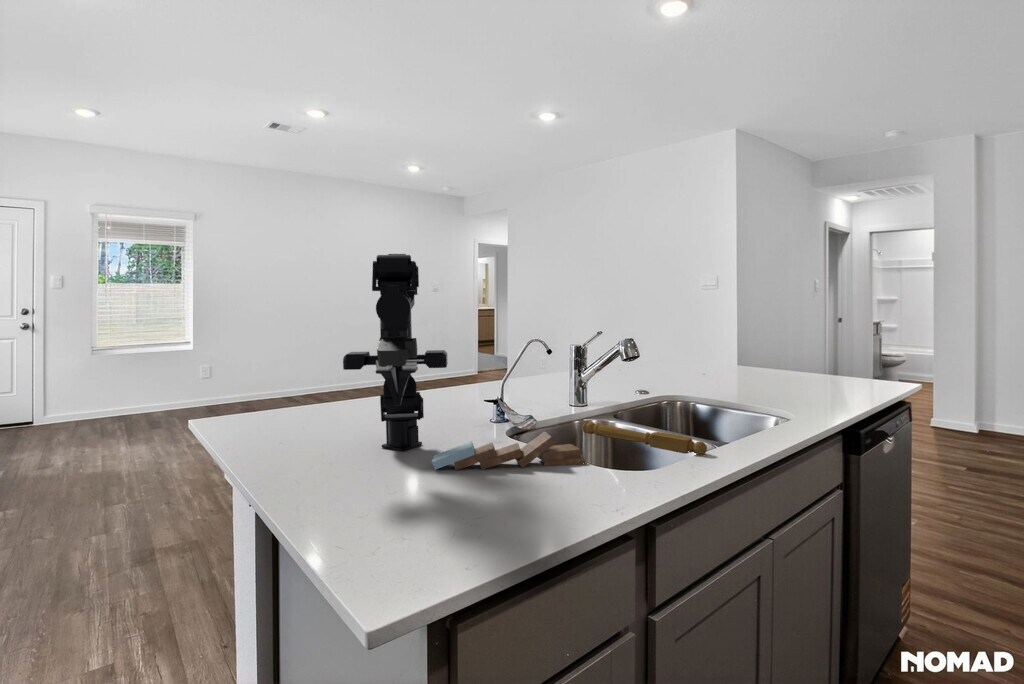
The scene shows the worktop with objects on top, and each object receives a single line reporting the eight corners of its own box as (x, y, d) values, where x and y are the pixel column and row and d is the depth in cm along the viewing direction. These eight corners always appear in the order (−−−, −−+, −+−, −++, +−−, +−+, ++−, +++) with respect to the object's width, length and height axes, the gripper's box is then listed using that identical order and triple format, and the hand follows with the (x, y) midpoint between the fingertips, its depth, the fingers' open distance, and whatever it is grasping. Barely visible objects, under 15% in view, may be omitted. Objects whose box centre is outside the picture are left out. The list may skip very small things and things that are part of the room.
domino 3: (479, 462, 106) (519, 448, 107) (479, 455, 111) (517, 442, 111) (481, 469, 107) (521, 456, 107) (482, 462, 111) (520, 450, 111)
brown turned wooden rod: (589, 420, 136) (709, 440, 115) (589, 432, 136) (709, 455, 116) (581, 422, 134) (702, 443, 113) (581, 434, 134) (702, 458, 113)
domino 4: (517, 461, 107) (551, 436, 108) (512, 455, 111) (544, 431, 112) (522, 468, 107) (555, 443, 108) (516, 461, 112) (548, 437, 113)
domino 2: (453, 462, 106) (493, 448, 106) (454, 456, 110) (492, 442, 111) (456, 470, 106) (495, 456, 106) (457, 463, 111) (495, 449, 111)
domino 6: (544, 461, 108) (585, 459, 109) (541, 455, 112) (580, 453, 113) (545, 469, 108) (585, 467, 109) (541, 463, 113) (579, 461, 114)
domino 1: (431, 462, 106) (471, 447, 106) (433, 455, 110) (471, 441, 110) (434, 469, 106) (474, 454, 106) (436, 462, 110) (474, 448, 111)
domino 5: (543, 453, 108) (580, 449, 111) (534, 447, 112) (570, 443, 115) (543, 461, 108) (580, 457, 111) (534, 455, 112) (570, 451, 115)
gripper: (334, 325, 96) (337, 415, 97) (444, 324, 97) (446, 412, 98) (348, 322, 107) (351, 403, 108) (446, 321, 108) (448, 401, 109)
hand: (398, 405), depth 106 cm, fingers closed
